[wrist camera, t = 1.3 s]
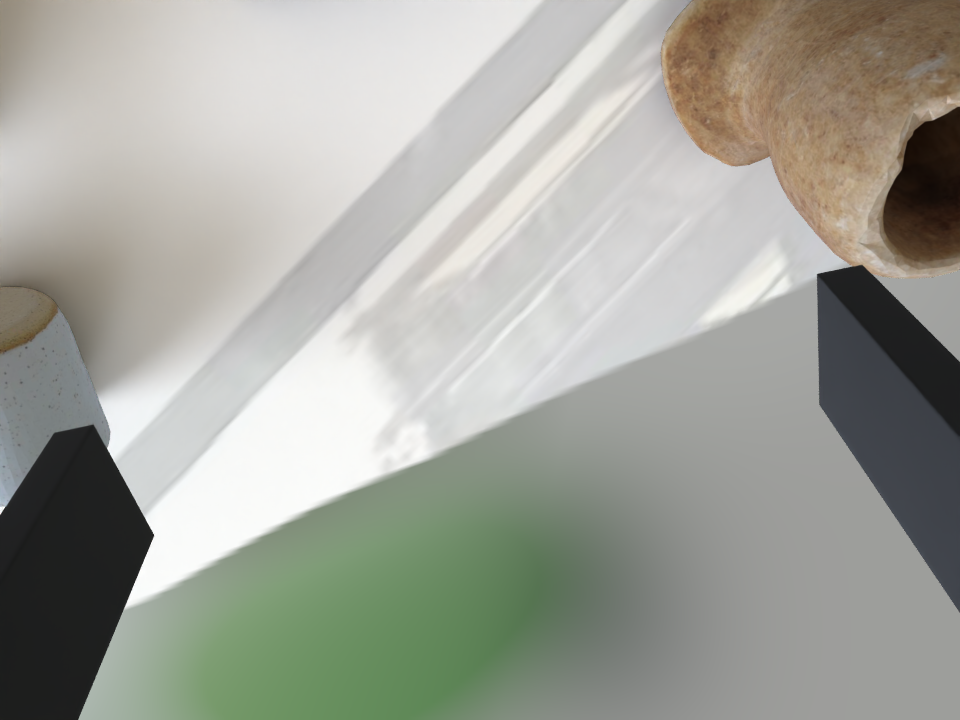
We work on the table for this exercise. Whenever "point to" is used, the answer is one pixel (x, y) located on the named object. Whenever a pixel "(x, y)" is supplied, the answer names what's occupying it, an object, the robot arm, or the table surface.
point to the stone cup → (835, 116)
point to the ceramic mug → (38, 383)
